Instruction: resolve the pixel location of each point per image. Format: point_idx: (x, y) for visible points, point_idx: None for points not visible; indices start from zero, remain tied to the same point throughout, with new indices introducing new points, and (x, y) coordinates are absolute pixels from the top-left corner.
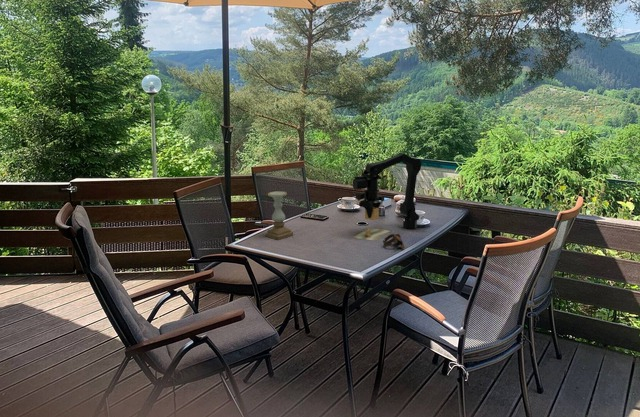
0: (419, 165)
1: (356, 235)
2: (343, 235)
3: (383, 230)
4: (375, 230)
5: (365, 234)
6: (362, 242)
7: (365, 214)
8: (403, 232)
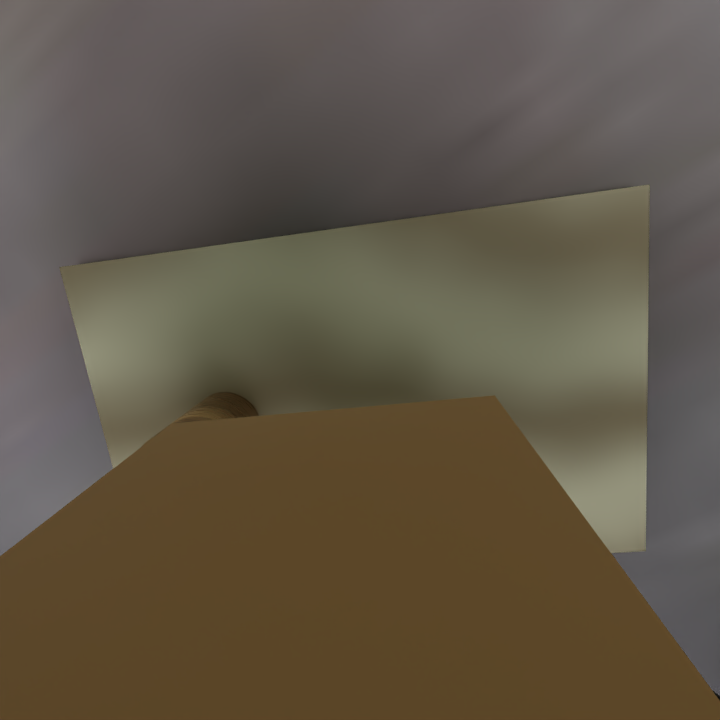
0: None
1: (167, 258)
2: (134, 18)
3: (615, 458)
4: (557, 358)
5: (190, 409)
6: (68, 443)
7: (72, 523)
8: (714, 656)
